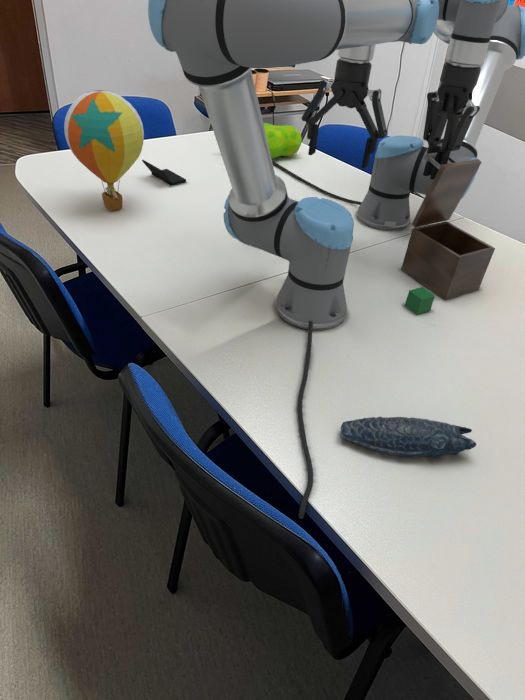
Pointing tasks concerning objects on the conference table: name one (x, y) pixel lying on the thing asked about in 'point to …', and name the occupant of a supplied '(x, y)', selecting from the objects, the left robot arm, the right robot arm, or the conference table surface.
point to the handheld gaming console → (165, 175)
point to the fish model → (407, 436)
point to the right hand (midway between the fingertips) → (431, 176)
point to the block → (419, 300)
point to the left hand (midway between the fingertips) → (337, 160)
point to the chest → (446, 259)
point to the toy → (105, 138)
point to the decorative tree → (282, 140)
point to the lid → (445, 190)
